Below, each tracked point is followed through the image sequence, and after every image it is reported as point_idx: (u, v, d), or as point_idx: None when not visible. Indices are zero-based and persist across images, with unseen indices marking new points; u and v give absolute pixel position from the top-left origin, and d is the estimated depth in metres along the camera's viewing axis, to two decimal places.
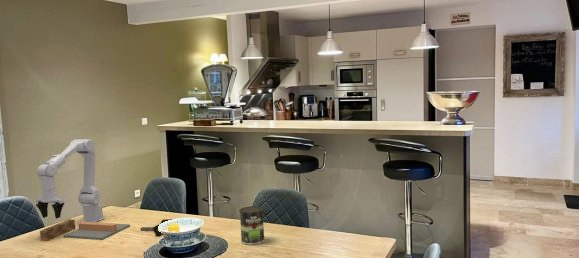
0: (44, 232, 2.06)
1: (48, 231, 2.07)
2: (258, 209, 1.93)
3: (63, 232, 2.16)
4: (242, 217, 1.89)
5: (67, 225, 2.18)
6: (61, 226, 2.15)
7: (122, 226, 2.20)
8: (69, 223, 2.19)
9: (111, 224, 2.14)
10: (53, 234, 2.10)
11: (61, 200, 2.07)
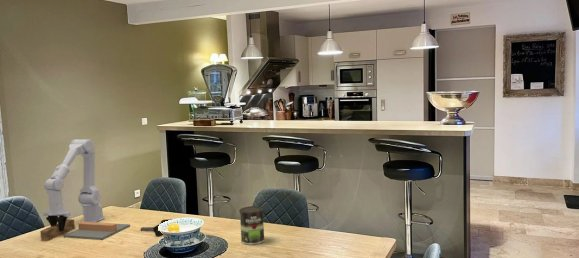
0: (45, 232, 2.06)
1: (49, 231, 2.07)
2: (258, 209, 1.93)
3: (63, 232, 2.16)
4: (242, 217, 1.89)
5: (66, 224, 2.18)
6: None
7: (122, 226, 2.20)
8: (69, 223, 2.20)
9: (111, 224, 2.14)
10: (53, 234, 2.10)
11: (68, 213, 2.12)
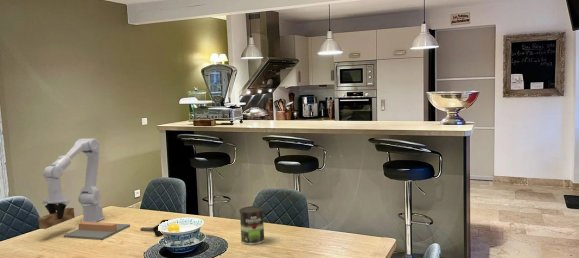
0: (43, 219, 2.05)
1: (47, 218, 2.06)
2: (258, 209, 1.93)
3: (62, 220, 2.15)
4: (242, 217, 1.89)
5: (66, 213, 2.17)
6: None
7: (122, 226, 2.20)
8: (68, 211, 2.19)
9: (111, 224, 2.14)
10: (52, 221, 2.09)
11: (67, 201, 2.11)
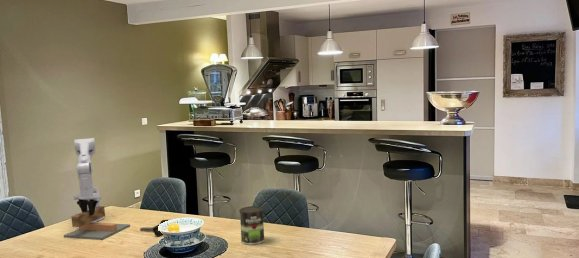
0: (76, 217, 2.07)
1: (79, 217, 2.08)
2: (258, 209, 1.93)
3: (93, 218, 2.16)
4: (242, 217, 1.89)
5: (97, 211, 2.19)
6: None
7: (122, 226, 2.20)
8: (99, 210, 2.20)
9: (111, 224, 2.14)
10: (84, 220, 2.11)
11: (98, 197, 2.12)
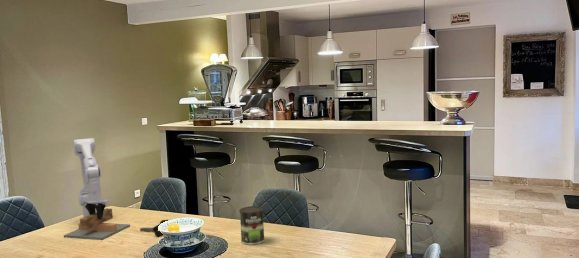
0: (84, 220, 2.07)
1: (88, 219, 2.08)
2: (258, 209, 1.93)
3: (101, 221, 2.17)
4: (242, 217, 1.89)
5: (105, 213, 2.19)
6: None
7: (122, 226, 2.20)
8: (107, 212, 2.21)
9: (111, 224, 2.14)
10: (92, 222, 2.11)
11: (107, 201, 2.13)
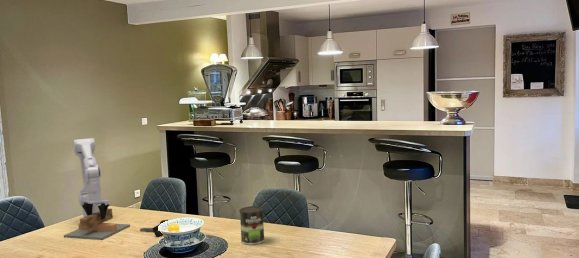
0: (84, 220, 2.07)
1: (88, 219, 2.08)
2: (258, 209, 1.93)
3: (101, 221, 2.17)
4: (242, 217, 1.89)
5: None
6: (100, 215, 2.16)
7: (122, 226, 2.20)
8: (107, 212, 2.21)
9: (111, 224, 2.14)
10: (92, 222, 2.11)
11: (107, 201, 2.13)
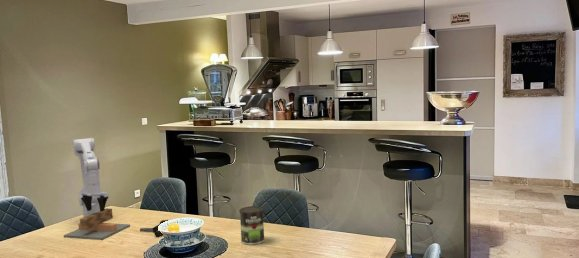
0: (84, 220, 2.07)
1: (88, 219, 2.08)
2: (258, 209, 1.93)
3: (101, 221, 2.17)
4: (242, 217, 1.89)
5: (105, 213, 2.19)
6: (100, 215, 2.16)
7: (122, 226, 2.20)
8: (107, 212, 2.21)
9: (111, 224, 2.14)
10: (92, 222, 2.11)
11: (106, 194, 2.13)
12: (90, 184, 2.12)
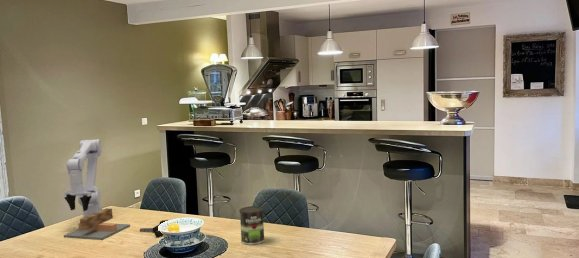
0: (84, 220, 2.07)
1: (88, 219, 2.08)
2: (258, 209, 1.93)
3: (101, 221, 2.17)
4: (242, 217, 1.89)
5: (105, 213, 2.19)
6: (100, 215, 2.16)
7: (122, 226, 2.20)
8: (107, 212, 2.21)
9: (111, 224, 2.14)
10: (92, 222, 2.11)
11: (89, 193, 2.15)
12: (73, 184, 2.15)
